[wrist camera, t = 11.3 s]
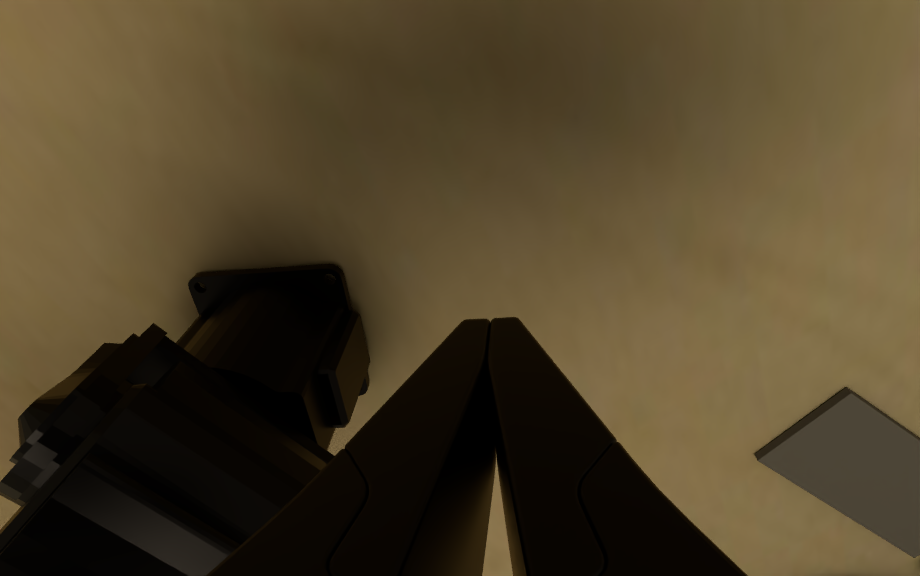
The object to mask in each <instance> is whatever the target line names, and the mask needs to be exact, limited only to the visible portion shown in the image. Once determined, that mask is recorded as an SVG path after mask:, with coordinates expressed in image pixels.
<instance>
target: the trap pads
mask: <svg viewBox="0 0 920 576" xmlns="http://www.w3.org/2000/svg"><path fill="white" fill-rule="evenodd" d="M755 456H756V458H757V460H758V461H759V462H761V463H762V464H764V465H765V466H767V467H769V468H770V469H772V470H773V471H775V472H777V473H778V474H780V475H782V476H783V477H785V478H786V479H788V480H790V481H791V482H793V483H794V484H796V485H798V486H799V487H801V488H802V489H804V490H806V491H807V492H809V493H810V494H812V495H814V496H815V497H817V498H819V499H820V500H822V501H823V502H825V503H827V504H828V505H830V506H831V507H833V508H835V509H836V510H838V511H839V512H841V513H843V514H844V515H846V516H847V517H849V518H851V519H852V520H854V521H856V522H857V523H859V524H860V525H862V526H864V527H865V528H867V529H868V530H870V531H872V532H873V533H875V534H876V535H878V536H880V537H881V538H883V539H884V540H886V541H888V542H889V543H891V544H893V545H894V546H896V547H897V548H899V549H901V550H902V551H904V552H905V553H907V554H909V555H910V556H912V557H913V558H915V557H917V556H919V555H920V438H919V437H917V436H916V435H915V434H913V433H912V432H910V431H909V430H907V429H906V428H904V427H903V426H902V425H900V424H899V423H897V422H896V421H894V420H893V419H892V418H890V417H889V416H887V415H886V414H884V413H883V412H881V411H880V410H879V409H877V408H876V407H874V406H873V405H871V404H870V403H869V402H867V401H866V400H864V399H863V398H861V397H860V396H858V395H857V394H856V393H854V392H853V391H851V390H850V389H848V388H847V387H846V388H844V389H843V390H842V391H840V392H839V393H838V394H836V395H835V396H833V397H832V398H831V399H829V400H828V401H827V402H825V403H824V404H822V405H821V406H820V407H818V408H817V409H816V410H814V411H813V412H812V413H810V414H809V415H807V416H806V417H805V418H803V419H802V420H801V421H799V422H798V423H796V424H795V425H794V426H792V427H791V428H790V429H788V430H787V431H786V432H784V433H783V434H781V435H780V436H779V437H777V438H776V439H775V440H773V441H772V442H770V443H769V444H768V445H766V446H765V447H764V448H762V449H761V450H760V451H758V452H757V453H755Z"/></svg>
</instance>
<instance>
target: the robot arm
mask: <svg viewBox="0 0 920 576" xmlns="http://www.w3.org/2000/svg"><path fill="white" fill-rule="evenodd" d="M326 274H331V275H333V276H334V277H335V279H336V280H330V279H328V278H327V276H326ZM199 282H200V283H203V284H204V285H205V286H206V288H203V287H201V286H200V284H199ZM188 286H189V290H190V293H191V295H192V298H193V300H194V303H195V305H196V308H197V310H198V313H199V317H198V318H197V319H196V320H195V321H194V323H193V324H192V325H191V326H190V327H189V328H188V330H187V331H186V332H185V333H184V334H183V335H182V337H181V338H180V339H179V340H178V341H177V342H176V343H175V342H173V341H172V340H171V339H169V338H168V337H166V336H165V335H166V334H167V333H166V332H165V331H164V330H162V329H161V328H159V327H158V326H157V325H155V324H154V323H153V324H152V325H151V326H150V327H149V328H148V329H147V330H146V331H145V332H144V333H143V334H142V335H141V336H140V337H138V336H137V335H136V334H134V333H133V334H132V335H131V336H130V337H129V338H128V339H127V340H126V341H125V342H124V343H123V344H116V343H104V344H103V345H102V346H101V347H100V348H99V349H98V350H97V351H96V352H95V353H94V354H93V355H92V356H91V357H90V358H88V359H87V360H86V361H85V362H84V363H83V364H82V365H81V366H80V367H79V368H78V369H77V370H76V371H75V372H73V373H72V374H71V375H70V376H69V377H67V378H66V379H65V380H63V381H62V382H60V383H59V384H57V385H56V386H55V387H53V388H52V389H50V390H49V391H48V392H46V393H45V394H43V395H42V396H41V397H39V398H38V399H37V400H35V401H34V402H33V403H32V404H31V405H30V406H29V407H28V408H27V409H26V410H25V411H24V412H23V413H22V414H21V416H20V417H19V418H18V428H19V441H20V448H19V449H18V450H17V451H16V453H15V454H14V455H13V456H12V457H11V459H10V460H9V461H11V462H13V463H15V464H16V465H15V466H14V467H13V468H12V469H11V470H10V471H9V473H8V474H7V475H6V476H5V477H4V478H3V479H2V481H1V482H0V495H1V496H3V497H5V498H7V499H9V500H10V501H12V502H14V503H16V504H18V505H20V506H21V507H20V508H19V510H18V511H17V512H16V513H15V514H14V515H13V516H12V517H11V519H10V520H9V521H8V522H7V523H6V524H5V525H4V526H3V527H2V529H1V530H0V576H482V572H483V564H484V556H485V548H486V540H487V532H488V524H489V516H490V508H491V500H492V492H493V483H494V475H495V464H496V455H497V464H498V473H499V481H500V488H501V495H502V502H503V509H504V515H505V522H506V529H507V536H508V543H509V550H510V557H511V564H512V571H513V576H748V575H747V574H745V573H744V572H743V571H742V570H741V569H740V568H739V567H738V566H737V565H736V564H735V563H734V562H733V561H732V560H731V559H730V558H729V557H728V556H727V555H726V554H725V553H724V552H722V551H721V550H720V549H719V548H718V547H717V546H716V545H715V544H714V543H713V542H712V541H711V540H710V539H709V538H708V537H707V536H706V535H705V534H704V533H703V532H702V531H701V530H699V529H698V528H697V527H696V526H695V525H694V524H693V523H692V522H691V521H690V520H689V519H688V518H687V517H686V516H685V515H684V514H683V513H682V512H681V511H680V510H679V509H678V508H677V507H676V506H675V505H674V504H673V503H672V502H671V501H670V500H669V499H668V498H667V497H666V496H665V495H664V494H663V493H662V492H661V491H660V490H659V489H658V488H657V487H656V485H655V484H654V483H653V482H652V481H651V480H650V478H649V477H648V476H647V475H646V474H645V473H644V472H643V470H642V469H641V468H640V467H639V466H638V465H637V464H636V462H635V461H634V460H633V459H632V458H631V456H630V455H629V454H628V453H627V451H626V450H625V449H624V448H623V446H622V445H621V444H620V443H619V442H617V440H616V438H615V437H614V436H613V434H612V433H611V432H610V431H609V429H608V428H607V427H606V426H605V425H604V423H603V422H602V421H601V420H600V418H599V417H598V416H597V415H596V413H595V412H594V411H593V410H592V408H591V407H590V406H589V405H588V404H587V402H586V401H585V400H584V399H583V397H582V396H581V395H580V394H579V392H578V391H577V390H576V389H575V387H574V386H573V385H572V384H571V383H570V381H569V380H568V379H567V378H566V376H565V375H564V374H563V373H562V371H561V370H560V369H559V368H558V367H557V365H556V364H555V363H554V362H553V360H552V359H551V358H550V357H549V355H548V354H547V353H546V352H545V350H544V349H543V348H542V347H541V346H540V344H539V343H538V342H537V341H536V339H535V338H534V337H533V336H532V334H531V333H530V332H529V331H528V329H527V328H526V327H525V326H524V325H523V323H522V322H521V321H520V320H519V319H518V318H516V317H506V318H494V319H492V320H491V323H490V321H489V320H488V319H467V320H463V321H462V322H461V323H460V324H459V325H458V326H457V327H456V328H455V329H454V330H453V331H452V332H451V334H450V335H449V336H448V337H447V338H446V339H445V340H444V341H443V342H442V343H441V344H440V345H439V346H438V347H437V348H436V350H435V351H434V352H433V353H432V354H431V355H430V356H429V357H428V358H427V359H426V360H425V361H424V362H423V363H422V364H421V365H420V367H419V368H418V369H417V370H416V371H415V372H414V373H413V374H412V375H411V376H410V377H409V378H408V379H407V380H406V381H405V382H404V384H403V385H402V386H401V387H400V388H399V389H398V390H397V391H396V392H395V393H394V394H393V395H392V396H391V397H390V398H389V399H388V401H387V402H386V403H385V404H384V405H383V406H382V407H381V408H380V409H379V410H378V411H377V412H376V413H375V414H374V415H373V416H372V418H371V419H370V420H369V421H368V422H367V423H366V424H365V425H364V426H363V427H362V428H361V429H360V430H359V431H358V432H357V433H356V435H355V436H354V437H353V438H352V439H351V440H350V441H349V442H348V443H347V444H346V445H345V449H341V450H340V451H339V452H338V453H337V454H336V456H334V455H332V454H331V453H329V452H328V451H327V450H328V447H329V444H330V442H331V439H332V436H333V434H334V431H335V428H345V426H346V425H347V424H348V423H349V422H350V419H351V416H352V413H353V410H354V407H355V405H356V402H357V399H358V396H360V395H363V394H365V393H366V392H367V390H368V387H369V378H368V374H367V369H368V366H369V363H370V357H369V353H368V349H367V344H366V340H365V336H364V331H363V327H362V323H361V318H360V315H359V314H358V313H357V312H356V311H355V310H352V306H351V302H350V297H349V293H348V289H347V285H346V281H345V276H344V273H343V271H342V269H341V268H340V267H338V266H336V265H334V264H321V265H305V266H290V267H275V268H260V269H245V270H230V271H215V272H201V273H197V274H196V275H195V276H194V277H193V278H192V279H191V280H190V281H189V283H188Z"/></svg>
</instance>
